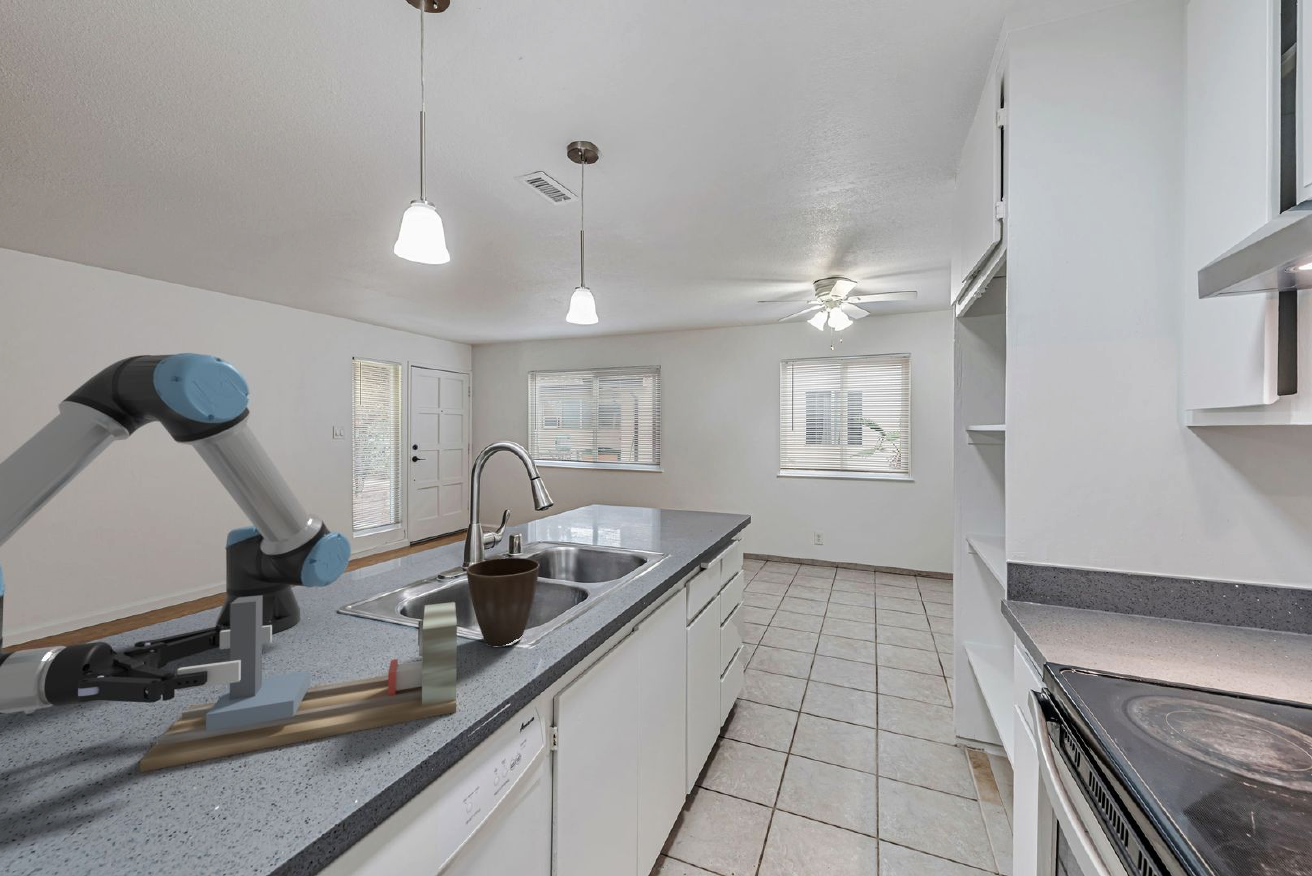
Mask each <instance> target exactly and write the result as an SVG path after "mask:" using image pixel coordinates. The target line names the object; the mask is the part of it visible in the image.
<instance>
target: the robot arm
mask: <svg viewBox="0 0 1312 876" xmlns="http://www.w3.org/2000/svg"><path fill="white" fill-rule="evenodd" d="M249 395H250V388H249V384H248V382H247V379H246V378H245V377H244V375H243V373H241V371H240V370H239V369H238V368H237V367H235V366H234V365H233V364H232V363H230V362H228V361H226V360H224V358H220V357H217V356H213V355H209V354H201V353H200V354H199V353H193V352H185V353H184V352H182V353H176V354H156V355H150V354H145V355H141V354H140V355H133V356H129V357H127V358H123V359H120V360H118V361H116V362H114V363H111V364H110V365H108V366H107V367H104V368H103V369H102V370H101V371H99V372H98V373H96V374H95V375H93V376H92V377H91V378H89V379H88V380H87V381H85V382H84V383H83V384H82V385H80V386H79V387H78V388H77V389H76V390H74V391H73V392H72V393H71V394H70V395H68V396H67V397H66V398H65V399H63V400H62V401H61V402H60V403H58V405H57V406H58V409H59V414H57V416H56V417H54V418H53V419H52V420H50V422H48V423H47V424H46V425H44V426H43V427H42V428H41V429H40V430H39V431H36V433H35V434H34V435H33V436H32V437H30V438H29V439H28V440H27V441H25V442H24V443H23V444H22V445H21V446H20V447H19V448H16V450H15V451H13V452H12V453H11V454H10V455H9V456H7V457H6V458H5V459H4V460H3V461H1V463H0V548H1V547H3V546H4V544H5V543H7V542H8V541H9V540H10V539H11V538H12V537H14V535H15V534H16V533H17V532H19V530H20V529H22V528H23V527H24V526H25V525H26V524H27V523H28V522H29V521H30V520H31V519H32V518H33V517H35V515H37V513H38V512H40V511H41V510H42V509H43V508H44V507H45V506H46V505H47V504H48V503H50V501H51V500H53V498H55V497H56V496H57V495H58V494H59V493H61V491H62V490H63V489H64V488H65V487H66V486H68V485H69V484H70V483H71V482H72V481H73V480H74V479H75V478H76V477H77V476H79V474H81V472H82V471H84V470H85V469H86V468H87V467H88V466H89V465H90V464H91V463H92V462H93V461H95V459H97V457H98V456H99V455H101V453H103V452H104V451H105V450H106V449H107V448H108V447H109V446H110V445H112V444H113V443H114V442H115V441H124V440H127V439H129V437H131V435H133V434H134V433H135V432H136V431H138V429H141V428H142V427H144V426H145V425H148V424H150V423H154V422H159V423H160V424H161V425H162V426H163V428H165V430H166V432H167V433H168V434H169V435H170V436H171V438H172V439H173V441H175V442H176V443H178V444H182V445H183V444H184V445H187V446H188V445H189V446H192V447H193V448H194V450H195V451H196V452H197V453H198V455H199V456H200V458H201V459H202V460H203V462H205V464H206V465H207V467H208V468H209V469H210V470H211V473H213V475H215V477H216V478H217V479H218V481H219V482H220V484H221V485H222V486H223V488H224V489H225V490H226V491H227V492H228V494H229V495H230V497H232V499H233V501H234V502H236V504H237V505H238V507H239V508H240V509H241V511H242V512H243V513H244V515H245V516H246V517H247V518H248V520H249V521H250V522H251V524H252V525H249V526H243V527H238V528H234V529H231V531H229V532H228V534H227V536H226V545H225V547H224V549H225V553H226V554H225V558H226V560H225V562H226V563H225V565H226V567H225V568H226V569H225V570H226V571H225V573H226V575H225V578H226V579H225V580H226V581H225V585H226V586H225V589H226V590H225V591H226V593H225V594H226V595H225V599H224V601H223V604H222V607H221V610H220V612H219V614H218V617H217V619H216V622H215V625H214V626H211V627H207V628H203V629H200V630H199V629H198V630H193V631H190V632H189V631H188V632H184V633H180V634H176V635H170V636H165V637H161V638H155V639H149V640H139V641H138V642H135V643H134V646H133V647H130V648H127V649H125V650H124V651H121V652H116V651H115V650H114V649H113V648H112V646H111V645H110V644H109V643H108V642H105V641H96V642H86V643H80V644H79V643H78V644H71V645H68V646H64V645H57V646H49V647H40V648H39V647H38V648H32V649H31V648H30V649H22V650H16V651H3V647H4V646H3V642H4V641H3V640H4V636H3V625H4V624H3V623H4V622H3V621H4V597H5V595H4V594H5V592H6V584H5V582H4V575H3V567H2V565H1V564H0V715H5V714H11V713H17V712H24V714H27V715H28V714H32V713H34V712H35V711H36V710H39V709H44V708H45V709H46V708H49V707H52V706H54V707H62V706H63V707H64V706H69V705H76V704H77V705H78V704H84V703H88V702H94V701H108V702H109V701H110V702H111V701H112V702H124V703H125V702H126V703H127V702H129V703H130V702H131V703H147V704H149V703H150V704H151V703H156V702H158V701H160V700H162V701H170V700H173V699H174V698H175V690H176V691H187V690H190V689H191V690H192V689H200V688H205V687H211V686H219V685H226V684H230V683H234V682H239V681H240V680H241V660H236V661H230V660H228V661H221V662H214V663H213V662H212V663H207V664H199V665H191V666H183V667H179V668H178V669H177V671H176V673H175V671H170V670H166V669H162V668H164V667H166V666H167V665H168V663H171V662H173V661H174V662H175V661H176V660H180V659H184V658H187V657H189V656H193V655H196V654H199V653H203V652H207V651H210V650H213V649H217V648H219V650H228V649H230V604H231V603H232V602H233V601H235V600H236V599H237V598H239V597H250V596H261V595H263V605H262V645H266V644H267V645H268V644H271V643H272V642H273V634H275V633H278V632H281V631H286V630H287V629H289V628H291V627H294V626H295V625H297V624H298V623H299V622H300V621H301V607H300V606H299V603H298V600H297V598H296V596H295V593H294V591H293V587H292V586H299V587H305V588H322V587H326V586H330V585H331V584H333V583H335V582H336V581H337V580H338V579H340V577H342V575H343V574H344V572H345V571H346V569H347V568H348V565H349V563H350V558H351V555H352V545H351V542H350V541H349V539H348V537H347V536H346V535H344V534H342V533H340V532H337V531H332V532H331V531H330V530H329V528H328V527H327V526H326V524H325V523H324V521H323V520H322V518H321V517H320V516H319V515H316V514H309V513H308V512H307V511H306V509H305V507H304V506H303V505H302V503H301V502H300V501H299V499H298V498H297V496H296V495H295V493H294V491H293V490H292V488H291V487H290V486H289V484H288V483H287V481H286V479H285V478H284V477H283V475H282V474H281V473H280V471H279V469H278V468H277V467H276V465H275V463H274V462H273V461H272V459H271V458H270V457H269V455H268V453H267V452H266V450H265V448H264V447H263V446H262V445H261V443H260V441H259V440H258V438H257V437H256V436H255V434H254V432H253V431H252V429H251V428H250V427H249V425H248V423H247V422H248V419H249V418H250V416H251V411H250V410H249V408H248V407H247V406H249V405H248V404H249V401H250V399H249V398H248V396H249Z"/></svg>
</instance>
